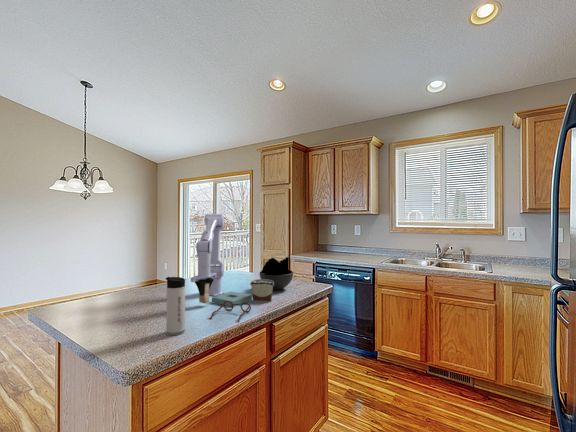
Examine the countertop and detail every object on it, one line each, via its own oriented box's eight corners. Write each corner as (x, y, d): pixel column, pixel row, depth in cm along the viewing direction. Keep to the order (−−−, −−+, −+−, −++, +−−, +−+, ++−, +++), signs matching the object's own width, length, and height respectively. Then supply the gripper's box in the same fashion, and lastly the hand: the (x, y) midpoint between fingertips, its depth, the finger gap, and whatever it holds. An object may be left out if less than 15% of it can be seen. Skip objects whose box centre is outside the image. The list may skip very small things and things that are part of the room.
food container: (275, 298, 149) (275, 279, 149) (274, 301, 143) (274, 281, 143) (252, 297, 150) (252, 278, 150) (249, 301, 144) (250, 281, 144)
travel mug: (168, 329, 107) (169, 275, 107) (186, 328, 107) (187, 275, 108) (162, 336, 101) (163, 279, 101) (182, 335, 101) (182, 278, 101)
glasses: (251, 313, 126) (251, 302, 126) (238, 323, 114) (238, 311, 114) (224, 310, 130) (224, 299, 130) (209, 320, 117) (209, 308, 117)
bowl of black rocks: (255, 292, 160) (255, 259, 161) (264, 284, 180) (264, 254, 180) (290, 294, 157) (290, 260, 157) (295, 286, 177) (295, 255, 177)
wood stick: (199, 302, 136) (199, 283, 136) (203, 301, 138) (203, 282, 138) (205, 303, 134) (205, 284, 134) (209, 302, 136) (209, 283, 136)
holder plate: (211, 302, 141) (211, 297, 141) (230, 296, 153) (230, 291, 153) (233, 306, 134) (233, 301, 134) (251, 299, 146) (251, 294, 146)
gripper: (198, 269, 128) (198, 299, 128) (221, 264, 140) (221, 292, 140) (187, 267, 131) (187, 297, 131) (210, 263, 144) (210, 290, 144)
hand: (204, 294), depth 136 cm, fingers closed on wood stick, 2 cm apart
